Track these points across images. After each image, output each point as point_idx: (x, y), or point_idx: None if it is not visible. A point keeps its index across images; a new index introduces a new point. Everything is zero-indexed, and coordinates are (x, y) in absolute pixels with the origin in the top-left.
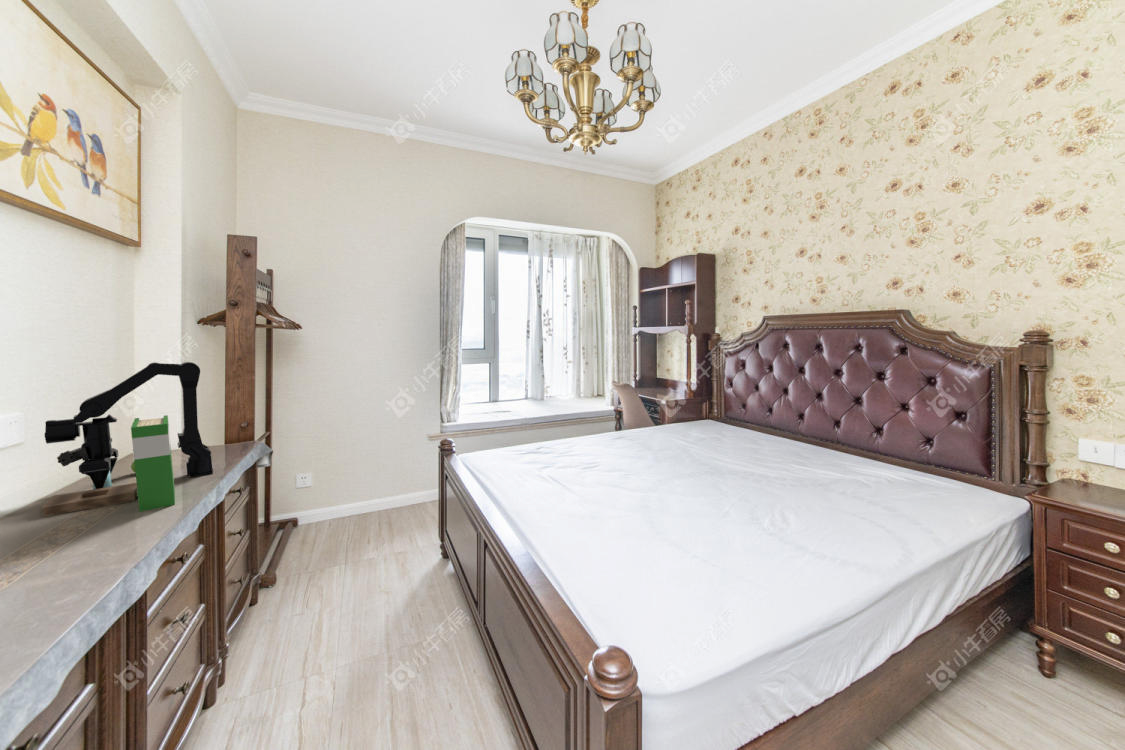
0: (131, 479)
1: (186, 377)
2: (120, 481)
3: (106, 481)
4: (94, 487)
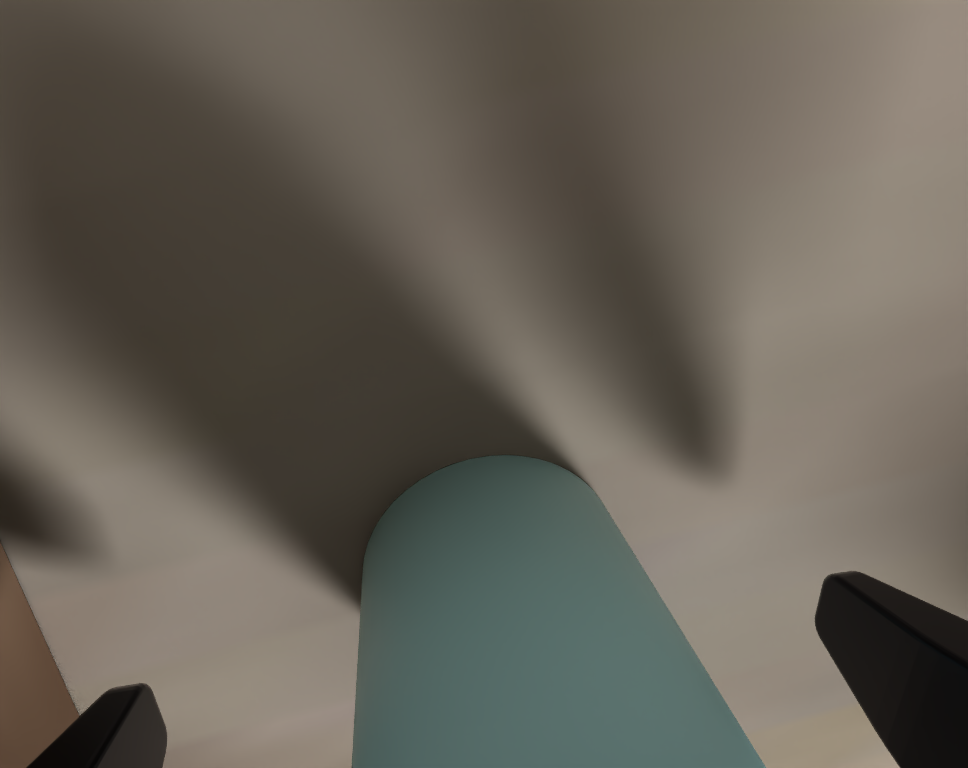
0: None
1: None
2: None
3: None
4: (409, 579)
